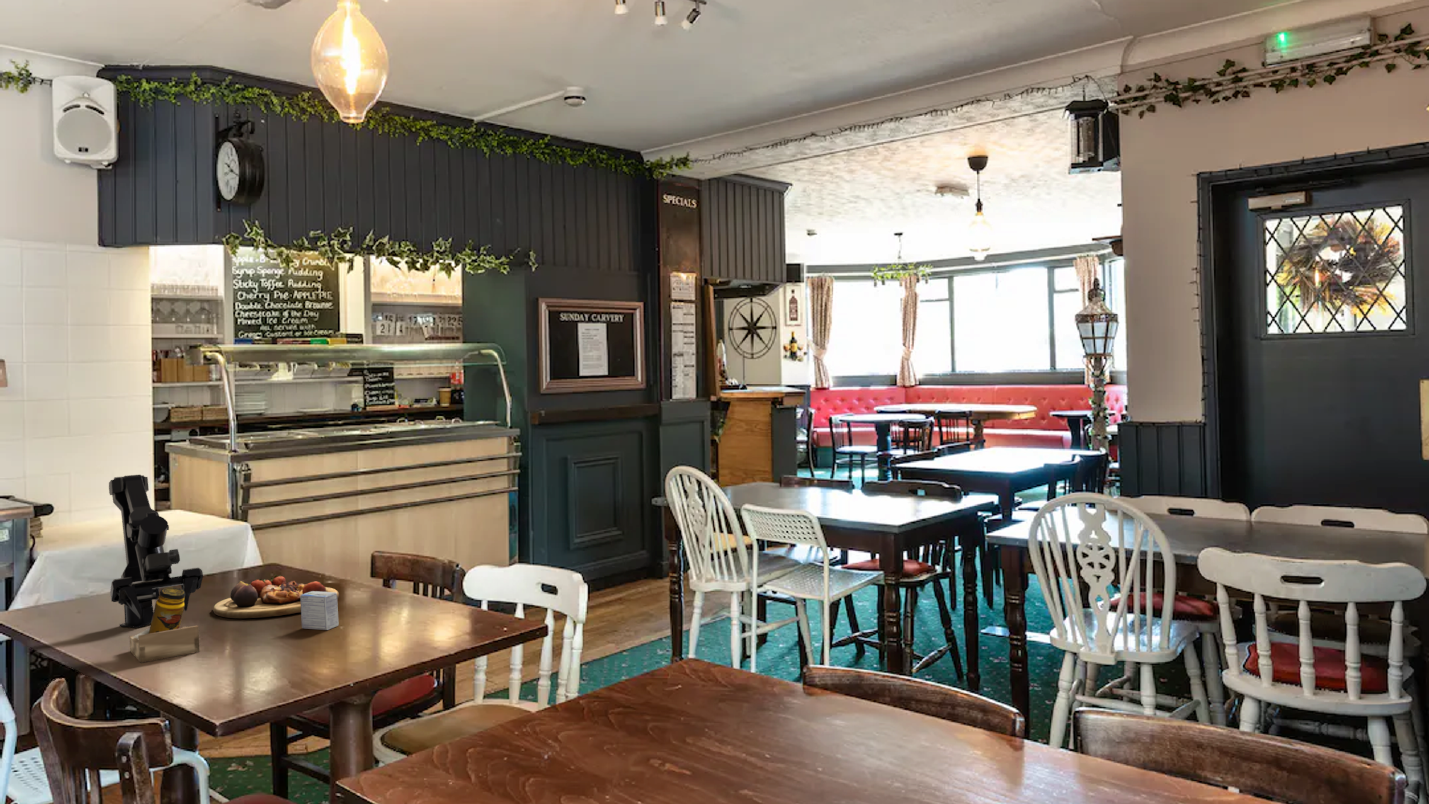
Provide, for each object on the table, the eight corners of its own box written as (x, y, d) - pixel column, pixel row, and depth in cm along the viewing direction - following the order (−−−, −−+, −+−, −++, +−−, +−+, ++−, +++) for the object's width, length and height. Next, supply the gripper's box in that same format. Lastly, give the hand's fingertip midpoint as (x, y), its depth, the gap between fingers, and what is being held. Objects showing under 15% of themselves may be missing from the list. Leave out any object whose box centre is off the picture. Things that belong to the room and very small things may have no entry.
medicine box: (339, 626, 247) (337, 592, 247) (326, 630, 243) (325, 596, 242) (313, 624, 249) (312, 590, 249) (301, 628, 245) (299, 594, 245)
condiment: (166, 648, 226) (178, 599, 225) (131, 637, 226) (143, 589, 225) (185, 637, 233) (196, 590, 232) (151, 627, 233) (162, 580, 232)
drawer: (130, 650, 229) (128, 625, 229) (187, 640, 237) (185, 616, 237) (140, 662, 219) (139, 636, 219) (199, 651, 227) (198, 626, 227)
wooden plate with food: (363, 599, 276) (361, 570, 276) (257, 625, 250) (255, 593, 250) (295, 590, 294) (294, 563, 294) (189, 613, 267) (188, 583, 267)
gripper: (109, 545, 225) (120, 600, 217) (199, 534, 236) (212, 586, 228) (105, 573, 231) (116, 629, 223) (193, 562, 243) (206, 614, 235)
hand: (163, 613), depth 227 cm, fingers open, 9 cm apart
